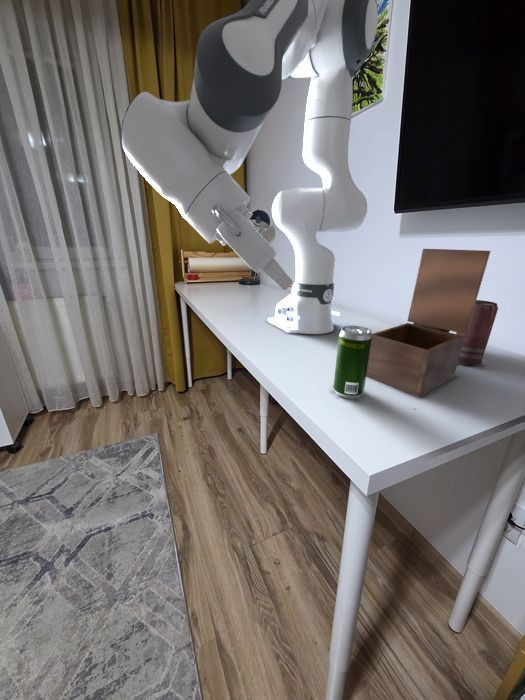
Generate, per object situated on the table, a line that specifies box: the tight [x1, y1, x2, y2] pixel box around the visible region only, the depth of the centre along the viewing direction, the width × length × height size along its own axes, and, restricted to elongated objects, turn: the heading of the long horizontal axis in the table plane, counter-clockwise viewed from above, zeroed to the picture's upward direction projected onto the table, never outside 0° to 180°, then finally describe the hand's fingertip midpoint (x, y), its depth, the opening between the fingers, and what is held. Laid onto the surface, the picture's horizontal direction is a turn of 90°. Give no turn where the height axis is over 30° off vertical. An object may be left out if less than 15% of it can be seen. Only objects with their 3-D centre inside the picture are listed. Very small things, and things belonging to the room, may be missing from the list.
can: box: [455, 299, 499, 367], centre depth 65 cm, size 6×6×14 cm
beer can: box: [333, 325, 372, 400], centre depth 51 cm, size 5×5×12 cm
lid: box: [407, 248, 491, 334], centre depth 59 cm, size 15×12×5 cm
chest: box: [366, 322, 465, 398], centre depth 58 cm, size 15×12×9 cm
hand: (285, 281), depth 46 cm, fingers open, 8 cm apart
